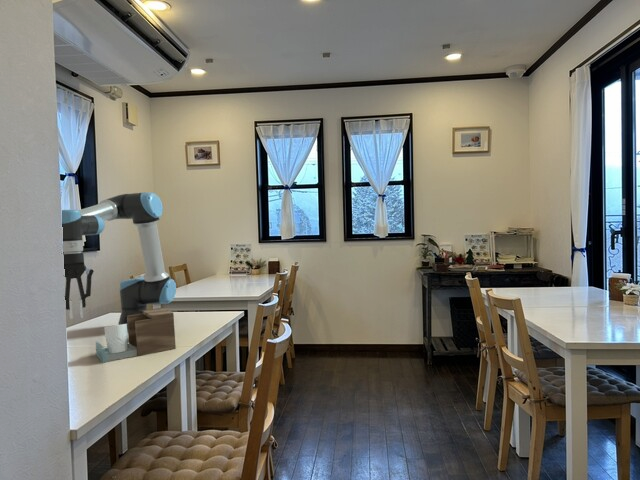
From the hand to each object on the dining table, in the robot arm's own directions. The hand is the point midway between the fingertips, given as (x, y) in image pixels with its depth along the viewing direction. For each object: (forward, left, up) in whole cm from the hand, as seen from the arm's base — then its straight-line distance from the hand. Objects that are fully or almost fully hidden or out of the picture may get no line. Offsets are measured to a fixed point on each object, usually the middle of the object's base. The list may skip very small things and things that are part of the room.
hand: (76, 317), depth 164 cm
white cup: (+3, +13, -15) cm, 20 cm away
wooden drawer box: (0, +26, -17) cm, 30 cm away
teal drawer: (0, +13, -17) cm, 21 cm away
